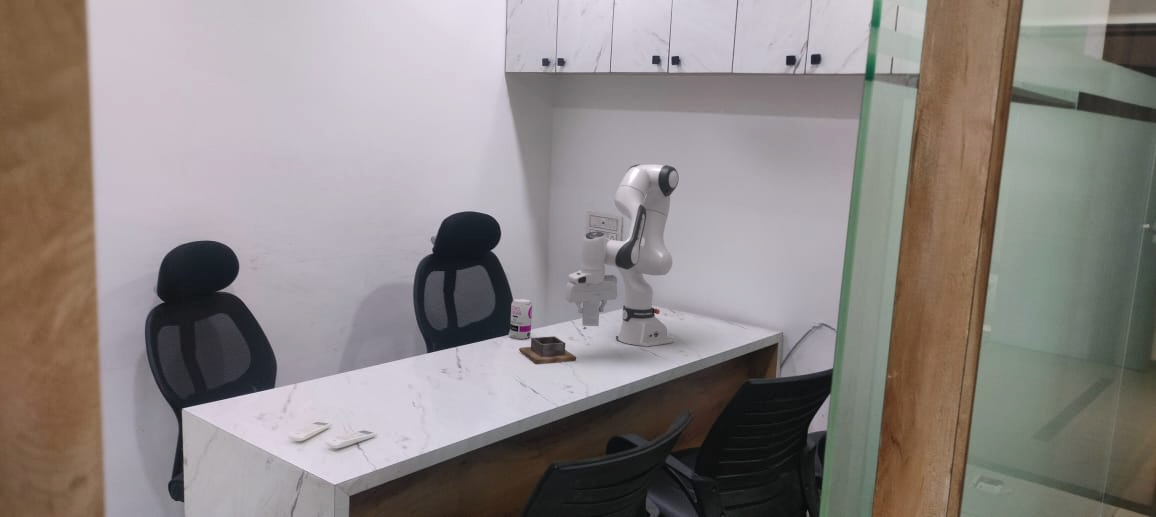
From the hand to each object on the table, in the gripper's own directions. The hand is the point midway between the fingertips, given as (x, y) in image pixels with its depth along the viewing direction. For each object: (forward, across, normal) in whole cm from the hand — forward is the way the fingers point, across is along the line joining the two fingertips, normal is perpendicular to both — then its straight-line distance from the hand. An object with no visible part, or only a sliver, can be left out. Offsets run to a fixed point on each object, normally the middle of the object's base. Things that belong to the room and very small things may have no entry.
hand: (590, 312), depth 295 cm
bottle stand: (+16, +16, -3) cm, 23 cm away
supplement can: (+17, +16, -30) cm, 38 cm away
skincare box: (+5, 0, 0) cm, 5 cm away
